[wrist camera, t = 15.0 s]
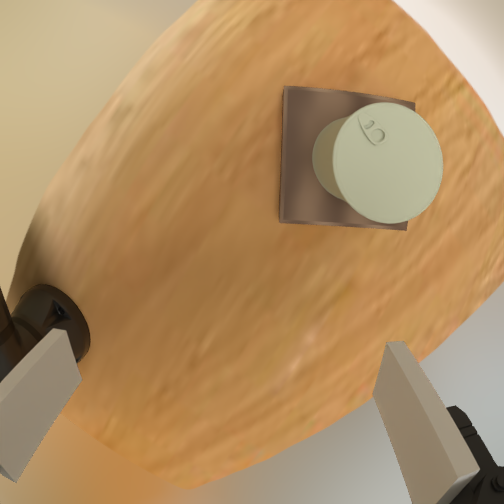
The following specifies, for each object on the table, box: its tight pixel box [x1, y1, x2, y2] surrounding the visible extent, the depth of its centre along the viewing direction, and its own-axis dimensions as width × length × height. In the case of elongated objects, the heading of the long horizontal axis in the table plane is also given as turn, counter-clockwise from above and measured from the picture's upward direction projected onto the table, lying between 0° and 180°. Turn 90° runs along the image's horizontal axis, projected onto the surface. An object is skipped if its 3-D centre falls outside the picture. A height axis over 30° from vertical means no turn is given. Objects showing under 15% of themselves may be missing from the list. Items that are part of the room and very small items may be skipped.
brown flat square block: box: [279, 86, 415, 231], centre depth 34 cm, size 15×15×4 cm
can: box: [312, 102, 443, 224], centre depth 26 cm, size 9×9×12 cm
